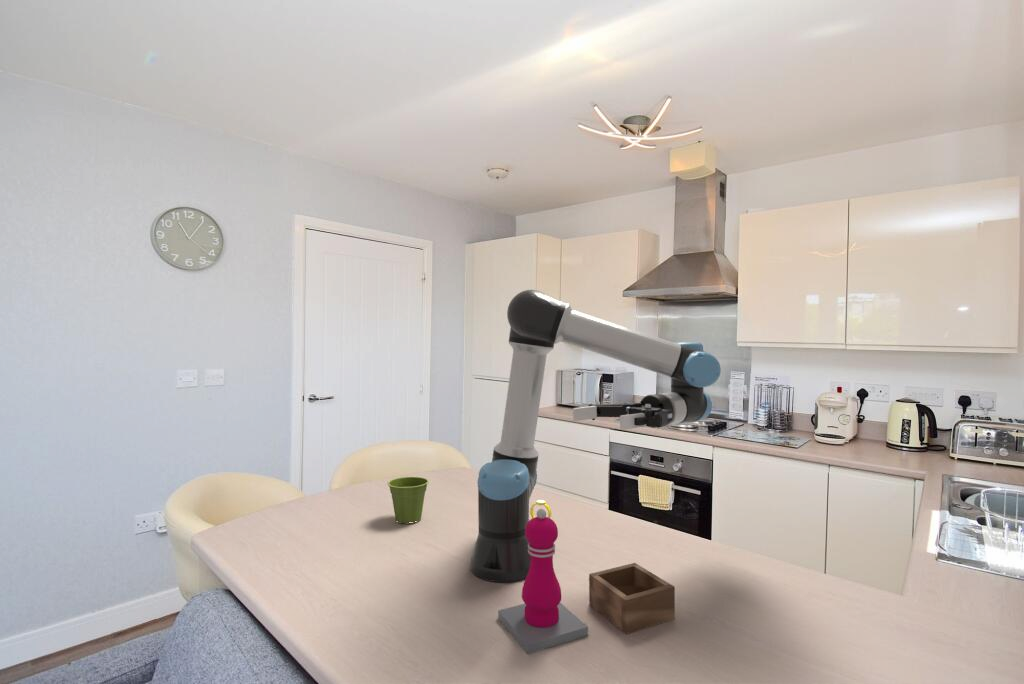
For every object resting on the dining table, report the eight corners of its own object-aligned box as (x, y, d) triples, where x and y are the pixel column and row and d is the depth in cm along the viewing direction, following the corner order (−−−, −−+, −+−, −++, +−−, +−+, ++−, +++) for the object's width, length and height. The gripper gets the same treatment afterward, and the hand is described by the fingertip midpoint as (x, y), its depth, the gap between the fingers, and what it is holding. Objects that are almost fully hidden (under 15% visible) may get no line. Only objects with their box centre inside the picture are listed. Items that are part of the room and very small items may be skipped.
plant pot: (437, 517, 150) (437, 479, 150) (408, 530, 140) (408, 489, 140) (408, 510, 156) (407, 474, 156) (378, 522, 146) (378, 483, 146)
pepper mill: (534, 633, 88) (534, 518, 88) (514, 613, 94) (514, 506, 94) (569, 623, 91) (569, 512, 91) (548, 604, 98) (547, 500, 98)
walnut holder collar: (589, 604, 101) (589, 573, 101) (634, 591, 106) (634, 562, 106) (626, 634, 90) (625, 600, 90) (674, 618, 95) (674, 586, 95)
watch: (551, 522, 147) (553, 502, 146) (548, 525, 144) (549, 504, 144) (532, 517, 149) (533, 497, 149) (528, 521, 147) (530, 500, 146)
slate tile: (498, 618, 96) (498, 610, 96) (553, 603, 101) (553, 596, 101) (527, 653, 85) (527, 644, 85) (587, 635, 90) (587, 626, 90)
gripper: (709, 434, 108) (644, 446, 96) (620, 419, 128) (557, 428, 116) (709, 398, 108) (644, 406, 96) (620, 389, 128) (557, 395, 116)
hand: (596, 418), depth 106 cm, fingers open, 13 cm apart
